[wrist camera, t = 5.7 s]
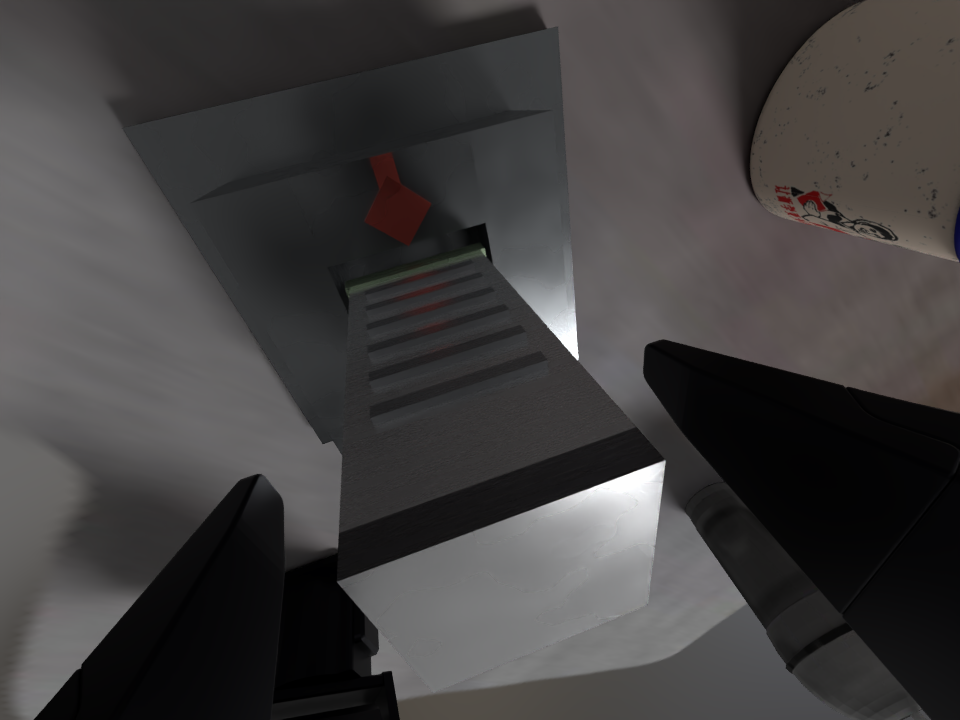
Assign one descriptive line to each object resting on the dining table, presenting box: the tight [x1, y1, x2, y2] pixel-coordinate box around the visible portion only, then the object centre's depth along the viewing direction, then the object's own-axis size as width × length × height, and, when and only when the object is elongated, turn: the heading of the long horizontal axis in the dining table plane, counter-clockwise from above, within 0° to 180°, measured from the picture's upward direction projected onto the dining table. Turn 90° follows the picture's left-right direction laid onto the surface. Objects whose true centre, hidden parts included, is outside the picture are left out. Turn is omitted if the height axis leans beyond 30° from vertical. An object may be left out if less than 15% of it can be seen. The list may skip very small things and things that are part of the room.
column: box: [337, 243, 666, 693], centre depth 9 cm, size 4×4×9 cm
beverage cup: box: [686, 483, 927, 720], centre depth 27 cm, size 7×7×20 cm
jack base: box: [123, 27, 578, 454], centre depth 15 cm, size 14×14×5 cm
